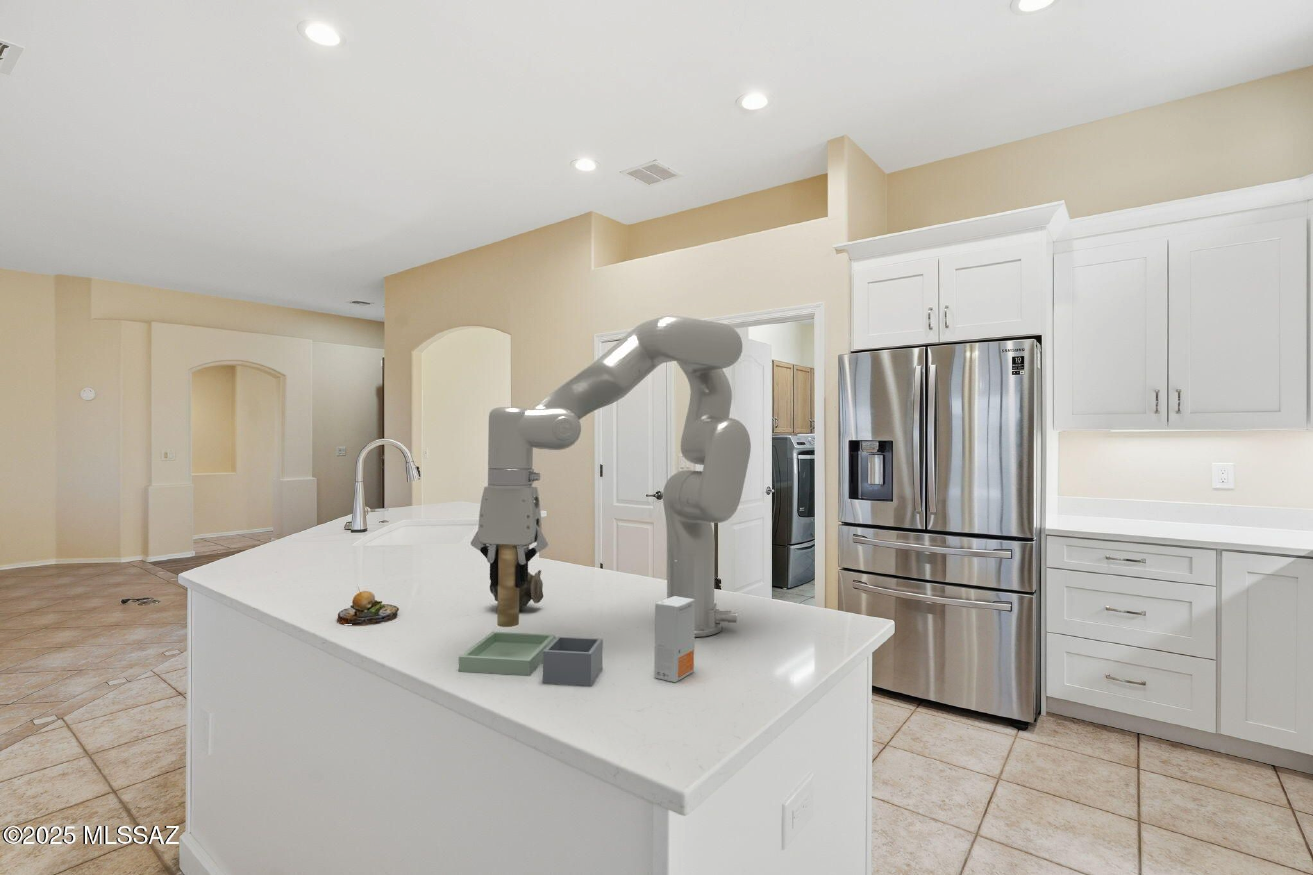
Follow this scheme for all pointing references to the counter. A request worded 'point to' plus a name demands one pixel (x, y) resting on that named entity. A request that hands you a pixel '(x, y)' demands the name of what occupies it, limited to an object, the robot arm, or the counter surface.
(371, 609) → the plate of food
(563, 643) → the open box
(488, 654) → the tray
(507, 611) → the dowel
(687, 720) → the counter surface
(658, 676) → the skincare box
